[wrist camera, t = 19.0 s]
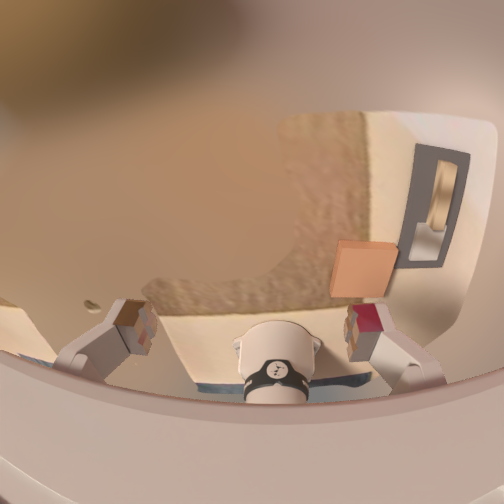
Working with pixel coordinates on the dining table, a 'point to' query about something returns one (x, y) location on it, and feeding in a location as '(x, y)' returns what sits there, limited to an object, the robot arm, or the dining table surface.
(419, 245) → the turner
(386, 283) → the tile
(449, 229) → the mat
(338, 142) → the dining table surface
